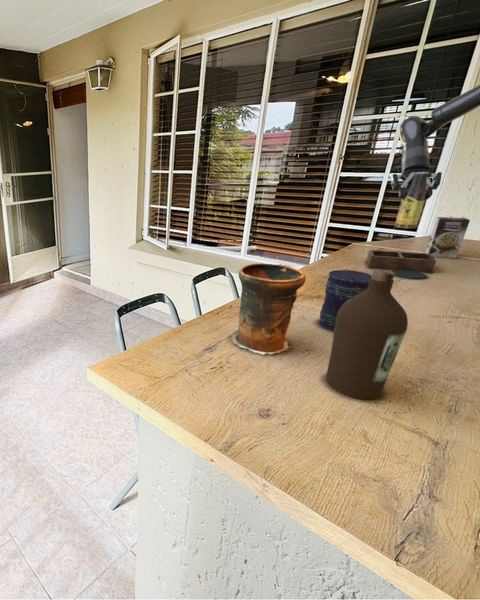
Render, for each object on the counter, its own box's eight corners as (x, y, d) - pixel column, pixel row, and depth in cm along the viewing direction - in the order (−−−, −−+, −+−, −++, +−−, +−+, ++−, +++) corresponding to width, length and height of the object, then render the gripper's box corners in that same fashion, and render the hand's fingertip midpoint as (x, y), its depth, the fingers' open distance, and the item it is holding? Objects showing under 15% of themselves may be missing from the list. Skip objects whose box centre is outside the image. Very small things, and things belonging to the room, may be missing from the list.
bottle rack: (426, 265, 140) (429, 253, 138) (432, 273, 132) (436, 260, 130) (366, 261, 150) (369, 249, 148) (368, 267, 142) (371, 256, 140)
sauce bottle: (391, 226, 136) (404, 172, 129) (409, 226, 134) (424, 171, 127) (401, 229, 130) (416, 173, 123) (421, 229, 128) (437, 172, 121)
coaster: (423, 272, 133) (423, 271, 133) (428, 280, 125) (429, 279, 125) (389, 270, 138) (389, 268, 138) (392, 277, 130) (392, 276, 130)
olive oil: (313, 383, 74) (338, 272, 65) (334, 366, 80) (360, 261, 71) (373, 409, 66) (412, 285, 57) (393, 387, 72) (431, 272, 62)
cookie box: (427, 256, 151) (439, 218, 145) (424, 253, 156) (436, 216, 150) (457, 258, 146) (470, 219, 140) (453, 255, 151) (466, 217, 145)
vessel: (271, 363, 82) (284, 284, 75) (219, 341, 94) (226, 270, 86) (303, 345, 89) (318, 270, 82) (252, 326, 101) (261, 259, 93)
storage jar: (316, 316, 104) (326, 268, 98) (356, 321, 100) (369, 271, 94) (320, 331, 96) (331, 279, 90) (365, 336, 91) (379, 283, 86)
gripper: (394, 155, 132) (393, 191, 127) (445, 152, 125) (447, 190, 120) (387, 170, 138) (386, 204, 133) (436, 167, 132) (437, 204, 126)
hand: (415, 197), depth 127 cm, fingers closed on sauce bottle, 6 cm apart
